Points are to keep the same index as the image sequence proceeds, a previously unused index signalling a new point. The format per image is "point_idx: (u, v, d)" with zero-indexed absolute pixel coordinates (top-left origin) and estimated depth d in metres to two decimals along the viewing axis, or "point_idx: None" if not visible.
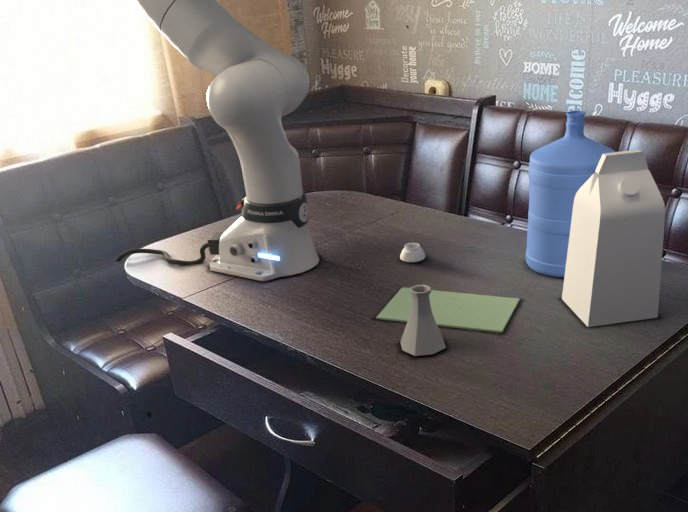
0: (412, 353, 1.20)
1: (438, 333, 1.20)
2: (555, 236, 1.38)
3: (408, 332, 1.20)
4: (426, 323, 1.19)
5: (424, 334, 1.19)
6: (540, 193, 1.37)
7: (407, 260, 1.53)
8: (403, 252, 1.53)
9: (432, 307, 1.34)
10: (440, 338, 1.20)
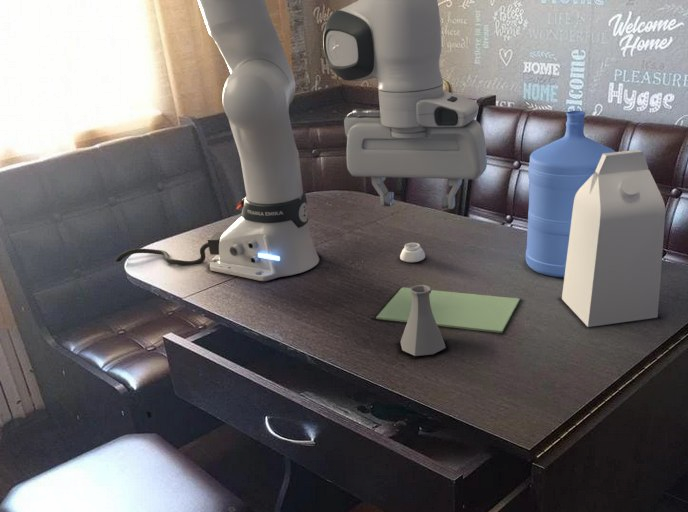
0: (412, 353, 1.20)
1: (438, 333, 1.20)
2: (555, 236, 1.38)
3: (408, 332, 1.20)
4: (426, 323, 1.19)
5: (424, 334, 1.19)
6: (540, 193, 1.37)
7: (407, 260, 1.53)
8: (403, 252, 1.53)
9: (432, 307, 1.34)
10: (440, 338, 1.20)
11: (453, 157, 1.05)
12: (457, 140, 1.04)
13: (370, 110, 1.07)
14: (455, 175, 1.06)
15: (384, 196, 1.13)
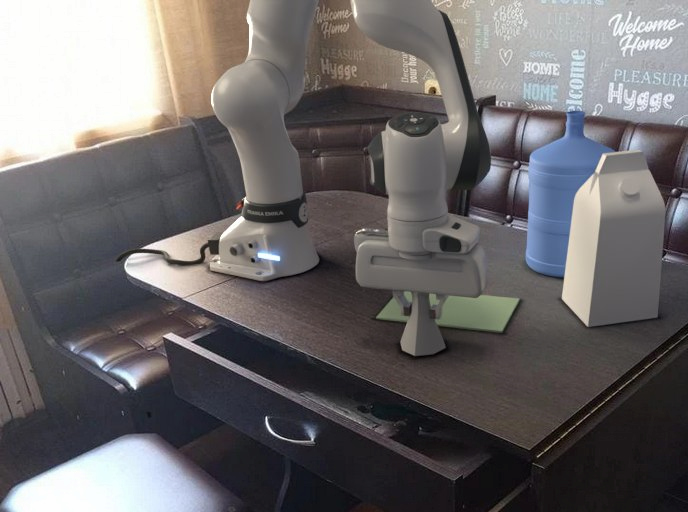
0: (412, 353, 1.20)
1: (438, 333, 1.20)
2: (555, 236, 1.38)
3: (408, 332, 1.20)
4: (426, 323, 1.19)
5: (424, 334, 1.19)
6: (540, 193, 1.37)
7: None
8: None
9: None
10: (440, 338, 1.20)
11: (456, 278, 1.12)
12: (460, 263, 1.11)
13: (379, 230, 1.15)
14: (457, 294, 1.14)
15: (404, 307, 1.19)
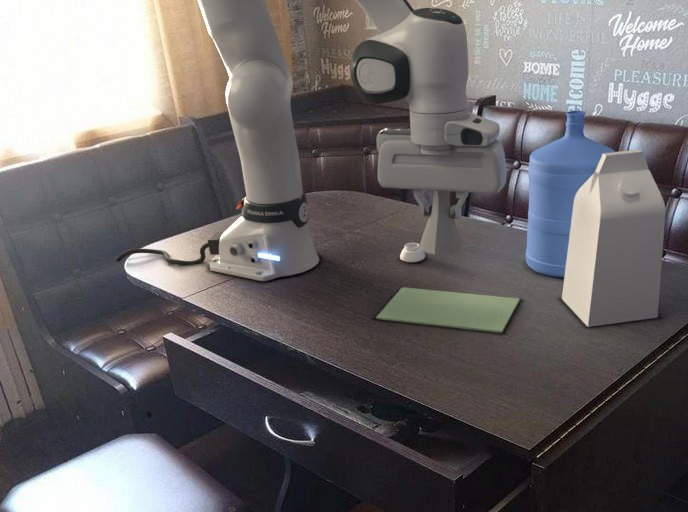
0: (432, 252, 1.23)
1: (457, 233, 1.23)
2: (555, 236, 1.38)
3: (428, 232, 1.23)
4: (446, 222, 1.22)
5: (444, 233, 1.22)
6: (540, 193, 1.37)
7: (407, 260, 1.53)
8: (403, 252, 1.53)
9: (432, 307, 1.34)
10: (459, 238, 1.23)
11: (476, 173, 1.16)
12: (481, 158, 1.14)
13: (401, 128, 1.18)
14: (477, 190, 1.17)
15: (424, 207, 1.22)
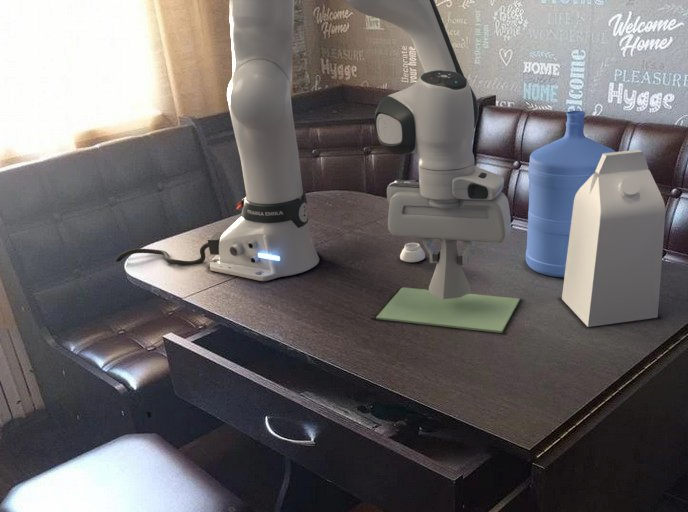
0: (441, 296, 1.29)
1: (464, 278, 1.30)
2: (555, 236, 1.38)
3: (437, 277, 1.30)
4: (454, 268, 1.28)
5: (452, 279, 1.28)
6: (540, 193, 1.37)
7: (407, 260, 1.53)
8: (403, 252, 1.53)
9: (432, 307, 1.34)
10: (466, 283, 1.30)
11: (482, 224, 1.22)
12: (486, 210, 1.21)
13: (410, 181, 1.24)
14: (483, 239, 1.23)
15: (433, 254, 1.29)
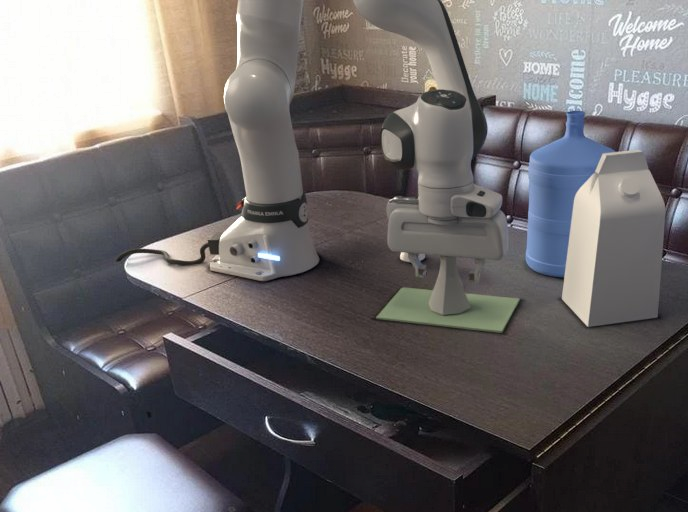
0: (440, 312, 1.31)
1: (464, 294, 1.31)
2: (555, 236, 1.38)
3: (436, 293, 1.31)
4: (453, 284, 1.30)
5: (452, 294, 1.30)
6: (540, 193, 1.37)
7: (407, 260, 1.53)
8: (403, 252, 1.53)
9: None
10: (465, 299, 1.31)
11: (480, 242, 1.23)
12: (485, 228, 1.22)
13: (409, 198, 1.25)
14: (481, 256, 1.24)
15: (418, 269, 1.31)
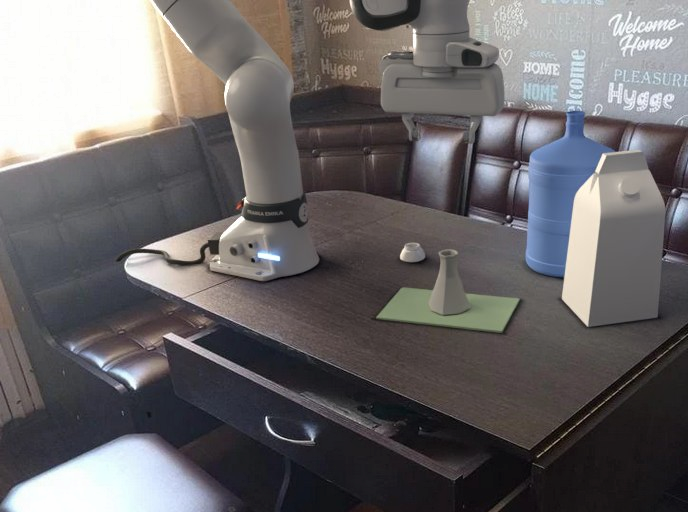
0: (440, 312, 1.31)
1: (464, 294, 1.31)
2: (555, 236, 1.38)
3: (436, 293, 1.31)
4: (454, 284, 1.30)
5: (452, 294, 1.30)
6: (540, 193, 1.37)
7: (407, 260, 1.53)
8: (403, 252, 1.53)
9: None
10: (466, 299, 1.31)
11: (475, 96, 1.20)
12: (480, 80, 1.19)
13: (404, 52, 1.23)
14: (476, 112, 1.22)
15: (412, 131, 1.28)
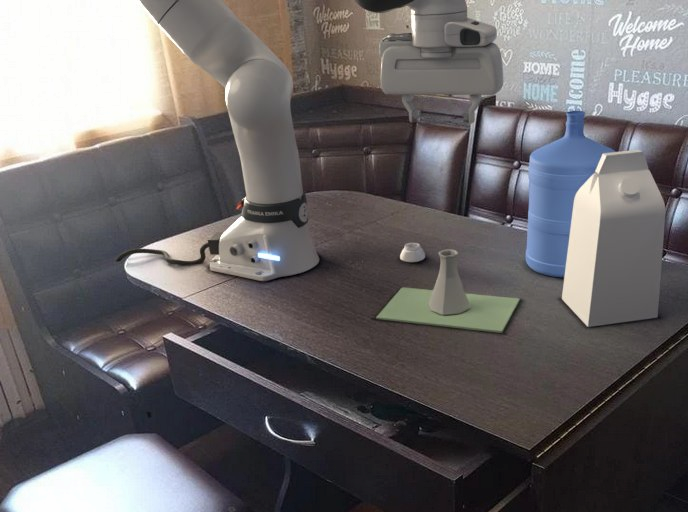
0: (440, 312, 1.31)
1: (464, 294, 1.31)
2: (555, 236, 1.38)
3: (436, 293, 1.31)
4: (454, 284, 1.30)
5: (452, 294, 1.30)
6: (540, 193, 1.37)
7: (407, 260, 1.53)
8: (403, 252, 1.53)
9: None
10: (466, 299, 1.31)
11: (474, 75, 1.21)
12: (479, 59, 1.20)
13: (403, 34, 1.24)
14: (475, 91, 1.23)
15: (412, 112, 1.29)
